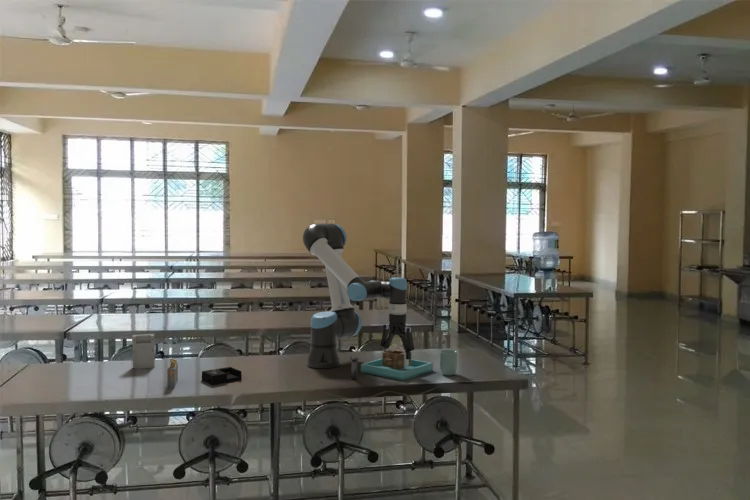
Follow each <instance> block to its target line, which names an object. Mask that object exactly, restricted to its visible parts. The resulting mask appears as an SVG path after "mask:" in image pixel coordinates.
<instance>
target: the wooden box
mask: <svg viewBox="0 0 750 500" xmlns="http://www.w3.org/2000/svg"><path fill="white" fill-rule="evenodd" d="M404 352H405V350H402V349H401V350H400V349H397V350H396V349H394V350H390V351H386V352H384V351H383V352H382V366H384V367H389V368H395V369H402V368H405V367H404ZM411 359H412V351H411V352H410V359H409V366H411ZM407 367H408V366H407Z"/></svg>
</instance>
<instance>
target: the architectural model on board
mask: <svg viewBox="0 0 750 500" xmlns="http://www.w3.org/2000/svg"><path fill="white" fill-rule="evenodd" d="M168 360H169V362H170V363H169V366H168V368H167V370H166V371H167V372H166V374H167V376H166V379H167V382H166V383H167V385H166V389H168V390H170V389H175V387H176V385H177V383H178V381H179V374H178V373H179V366H178V365H179V362H178V360H177V359H175V358H171V357H169V359H168ZM147 394H148V395H150V393H145V395H147ZM172 394H173V395H174V394H176V393H175V392H172ZM148 395H147V396H148Z"/></svg>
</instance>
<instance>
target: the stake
mask: <svg viewBox="0 0 750 500" xmlns="http://www.w3.org/2000/svg"><path fill="white" fill-rule="evenodd" d="M359 358H360V357H359V356H350V358H349V359H350V361H351V366H350V367H351V371H350V372H351V373H350V375H351V378H350V379H351V380H353V381H354V380H355V381H356V380H358V361H359Z"/></svg>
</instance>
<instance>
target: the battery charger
mask: <svg viewBox="0 0 750 500" xmlns="http://www.w3.org/2000/svg"><path fill="white" fill-rule="evenodd" d="M242 374H243V373H242V370H240V369H237V368H235V367H233V366H227V367H226V366H225V367H219V368H214V369H208V370H207V369H206V370H202V371H201V381H202V382H204V383H206V384H209V385H210V386H217V385H223V384H227V383H233V382H239V381H242Z"/></svg>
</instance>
